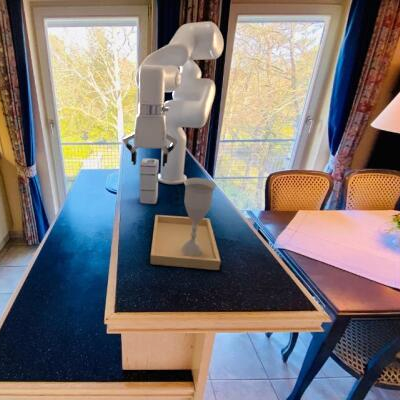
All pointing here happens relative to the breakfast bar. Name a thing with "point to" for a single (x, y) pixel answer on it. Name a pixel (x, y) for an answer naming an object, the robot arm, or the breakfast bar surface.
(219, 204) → the breakfast bar surface
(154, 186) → the syrup box
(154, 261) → the tray
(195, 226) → the chalice
